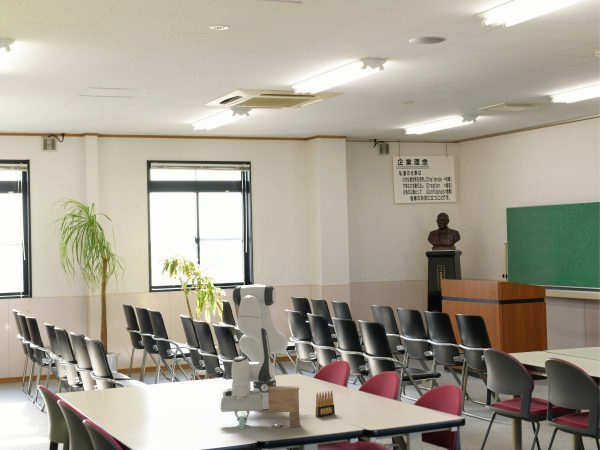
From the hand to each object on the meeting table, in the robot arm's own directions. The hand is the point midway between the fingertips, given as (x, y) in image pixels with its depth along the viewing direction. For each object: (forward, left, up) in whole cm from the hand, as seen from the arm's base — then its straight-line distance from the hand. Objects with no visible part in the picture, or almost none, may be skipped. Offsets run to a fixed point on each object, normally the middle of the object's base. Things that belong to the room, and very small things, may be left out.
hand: (242, 420), depth 426 cm
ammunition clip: (-14, +40, -2) cm, 42 cm away
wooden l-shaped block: (+8, +20, -2) cm, 21 cm away
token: (+8, +16, -2) cm, 18 cm away
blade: (0, 0, -2) cm, 2 cm away
